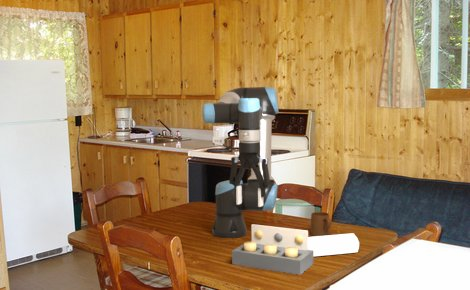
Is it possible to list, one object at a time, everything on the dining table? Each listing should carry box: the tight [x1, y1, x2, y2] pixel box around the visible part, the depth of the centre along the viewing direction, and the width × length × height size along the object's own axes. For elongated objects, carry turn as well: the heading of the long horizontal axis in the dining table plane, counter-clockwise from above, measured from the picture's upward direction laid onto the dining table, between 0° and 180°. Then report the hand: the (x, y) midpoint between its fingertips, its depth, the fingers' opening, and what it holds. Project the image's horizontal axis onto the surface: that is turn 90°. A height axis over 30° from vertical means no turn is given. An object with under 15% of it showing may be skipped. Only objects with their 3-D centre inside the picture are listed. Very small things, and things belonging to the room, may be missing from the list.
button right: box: [285, 247, 298, 258], centre depth 187 cm, size 4×4×4 cm
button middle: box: [264, 244, 277, 255], centre depth 190 cm, size 4×4×4 cm
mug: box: [310, 211, 332, 237], centre depth 228 cm, size 12×8×9 cm, turn 21°
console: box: [231, 223, 314, 276], centre depth 192 cm, size 26×13×12 cm, turn 62°
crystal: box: [308, 232, 360, 258], centre depth 205 cm, size 7×7×24 cm
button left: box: [243, 241, 256, 252], centre depth 194 cm, size 4×4×4 cm
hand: (249, 204), depth 193 cm, fingers open, 8 cm apart
